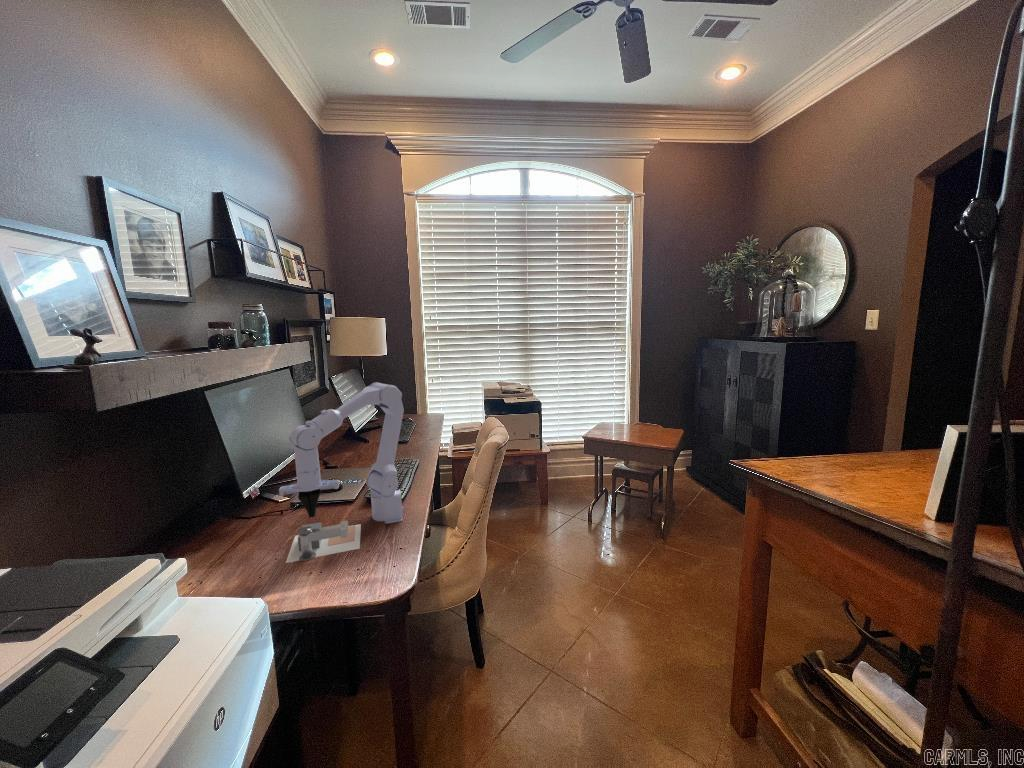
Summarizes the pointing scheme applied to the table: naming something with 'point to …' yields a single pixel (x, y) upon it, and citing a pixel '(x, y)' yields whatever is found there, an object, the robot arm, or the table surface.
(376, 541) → the table surface
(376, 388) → the robot arm
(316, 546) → the grey rectangular block
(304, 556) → the latch
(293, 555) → the board
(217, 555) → the table surface
